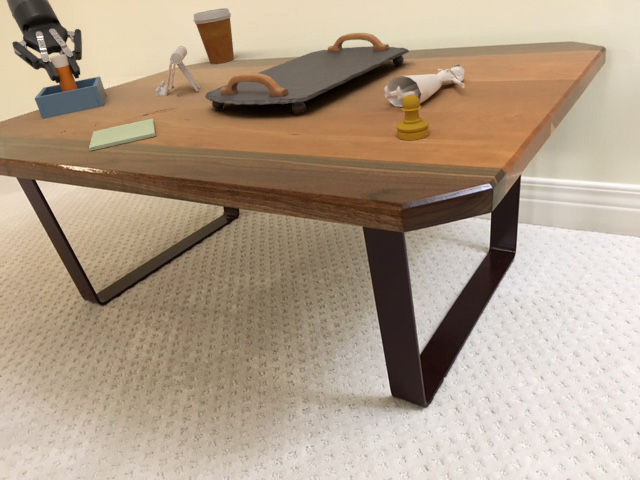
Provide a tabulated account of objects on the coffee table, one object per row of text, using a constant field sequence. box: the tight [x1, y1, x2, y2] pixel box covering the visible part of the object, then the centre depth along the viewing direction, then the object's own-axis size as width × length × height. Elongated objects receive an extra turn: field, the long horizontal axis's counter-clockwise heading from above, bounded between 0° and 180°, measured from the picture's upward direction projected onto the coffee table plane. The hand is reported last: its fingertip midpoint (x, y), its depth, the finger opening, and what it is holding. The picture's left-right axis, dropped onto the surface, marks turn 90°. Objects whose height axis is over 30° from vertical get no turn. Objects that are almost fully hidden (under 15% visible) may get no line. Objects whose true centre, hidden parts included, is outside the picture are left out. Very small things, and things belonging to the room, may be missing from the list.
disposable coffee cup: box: [192, 7, 235, 65], centre depth 137 cm, size 10×10×12 cm
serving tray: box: [204, 32, 410, 117], centre depth 97 cm, size 39×23×6 cm, turn 144°
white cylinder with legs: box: [155, 46, 201, 98], centre depth 109 cm, size 9×8×8 cm
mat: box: [88, 118, 157, 152], centre depth 88 cm, size 10×10×1 cm
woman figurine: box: [383, 63, 466, 107], centre depth 81 cm, size 12×4×18 cm
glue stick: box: [49, 54, 78, 92], centre depth 109 cm, size 3×3×10 cm
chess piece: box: [395, 94, 430, 141], centre depth 66 cm, size 4×4×5 cm
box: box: [34, 76, 107, 120], centre depth 110 cm, size 12×12×5 cm
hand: (67, 77), depth 107 cm, fingers closed on glue stick, 3 cm apart
